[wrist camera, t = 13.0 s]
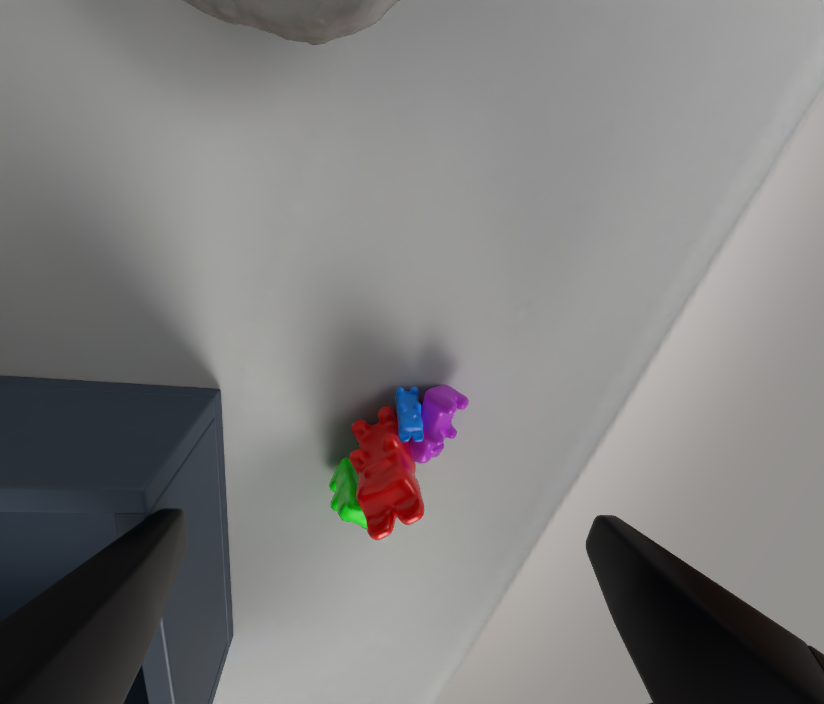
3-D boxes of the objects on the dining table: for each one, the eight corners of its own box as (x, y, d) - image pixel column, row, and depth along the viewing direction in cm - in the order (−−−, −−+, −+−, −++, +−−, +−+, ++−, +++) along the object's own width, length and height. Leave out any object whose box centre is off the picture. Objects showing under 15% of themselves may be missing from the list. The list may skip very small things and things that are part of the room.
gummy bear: (445, 357, 11) (480, 423, 8) (482, 425, 12) (526, 509, 9) (297, 436, 11) (270, 531, 8) (345, 496, 12) (338, 601, 9)
